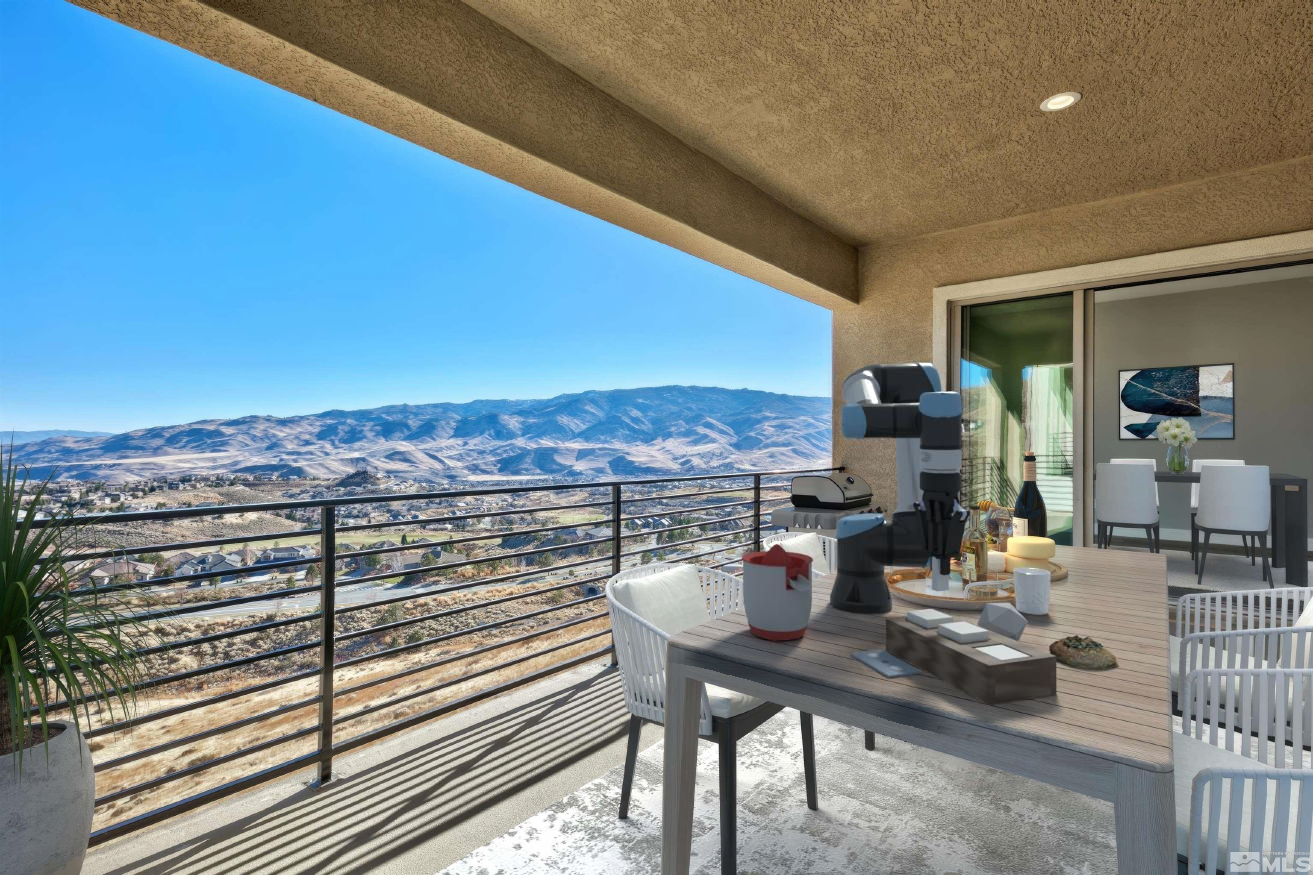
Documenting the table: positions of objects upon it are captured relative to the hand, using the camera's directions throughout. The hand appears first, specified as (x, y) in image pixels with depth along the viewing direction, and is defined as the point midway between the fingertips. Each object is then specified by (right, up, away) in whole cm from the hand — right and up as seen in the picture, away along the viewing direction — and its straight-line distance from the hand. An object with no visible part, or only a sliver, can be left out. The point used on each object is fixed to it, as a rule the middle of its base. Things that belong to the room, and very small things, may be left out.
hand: (940, 589), depth 124 cm
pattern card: (-12, -14, -3) cm, 18 cm away
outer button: (+4, -10, -15) cm, 19 cm away
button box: (+1, -14, -6) cm, 15 cm away
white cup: (+36, -13, +31) cm, 49 cm away
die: (+18, -13, +10) cm, 24 cm away
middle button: (+1, -9, -6) cm, 11 cm away
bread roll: (+27, -14, -1) cm, 31 cm away
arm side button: (-1, -9, +2) cm, 9 cm away
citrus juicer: (-29, -14, +15) cm, 35 cm away
